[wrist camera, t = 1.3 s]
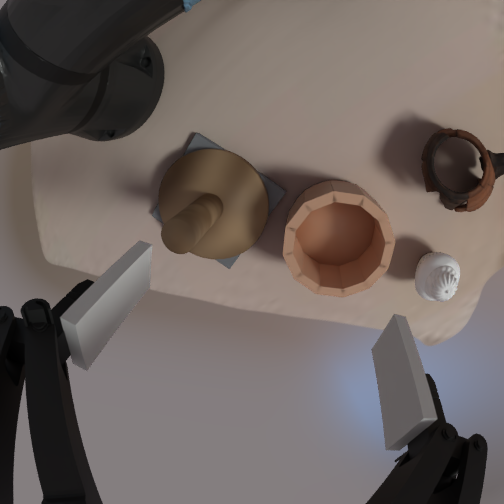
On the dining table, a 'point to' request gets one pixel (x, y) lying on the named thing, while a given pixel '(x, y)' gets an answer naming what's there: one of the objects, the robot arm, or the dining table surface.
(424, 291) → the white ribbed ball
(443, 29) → the dining table surface
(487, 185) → the pottery mug
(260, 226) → the walnut lid
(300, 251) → the terracotta bowl
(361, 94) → the dining table surface
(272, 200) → the grey mat
